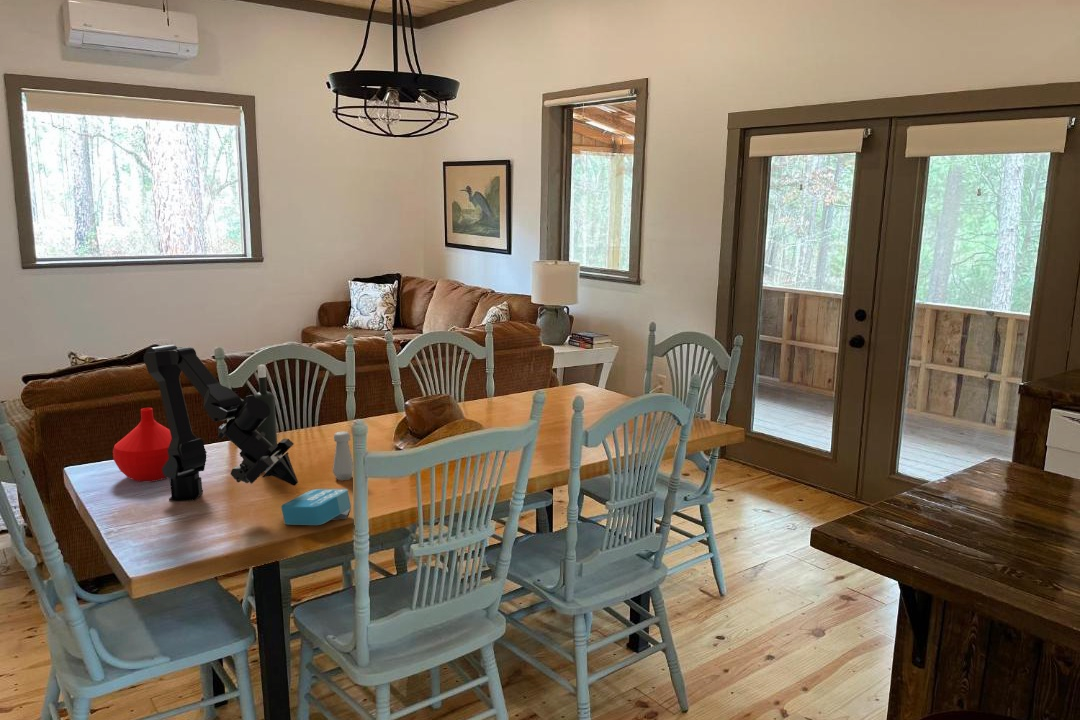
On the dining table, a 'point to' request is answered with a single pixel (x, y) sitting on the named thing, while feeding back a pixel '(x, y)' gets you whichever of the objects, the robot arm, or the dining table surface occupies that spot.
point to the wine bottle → (268, 398)
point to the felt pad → (342, 515)
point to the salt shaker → (342, 457)
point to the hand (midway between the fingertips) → (296, 484)
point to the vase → (143, 449)
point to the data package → (316, 507)
